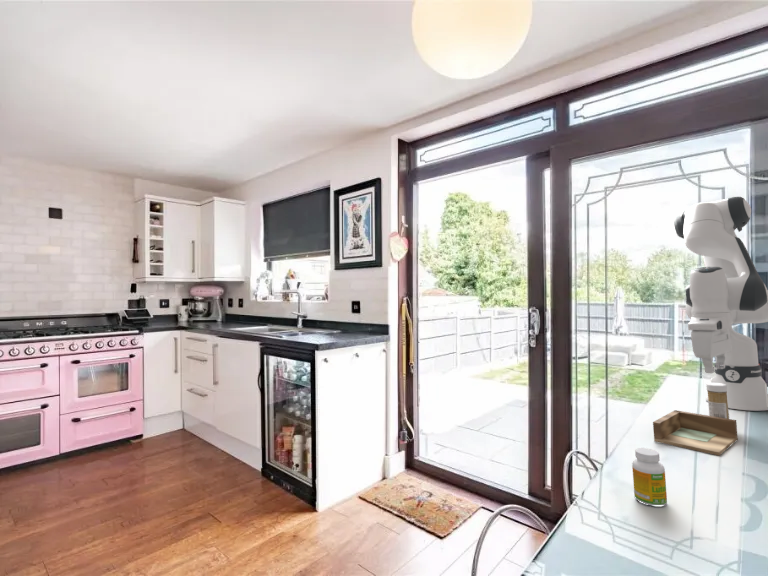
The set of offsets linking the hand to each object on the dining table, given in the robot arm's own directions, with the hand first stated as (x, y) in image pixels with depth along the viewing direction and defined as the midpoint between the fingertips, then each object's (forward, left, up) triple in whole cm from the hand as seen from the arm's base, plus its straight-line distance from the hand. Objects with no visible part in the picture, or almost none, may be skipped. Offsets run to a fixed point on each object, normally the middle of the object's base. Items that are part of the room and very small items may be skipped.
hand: (715, 370), depth 114 cm
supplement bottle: (+56, +3, -17) cm, 58 cm away
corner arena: (+13, -2, -17) cm, 21 cm away
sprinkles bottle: (0, 0, -17) cm, 17 cm away
